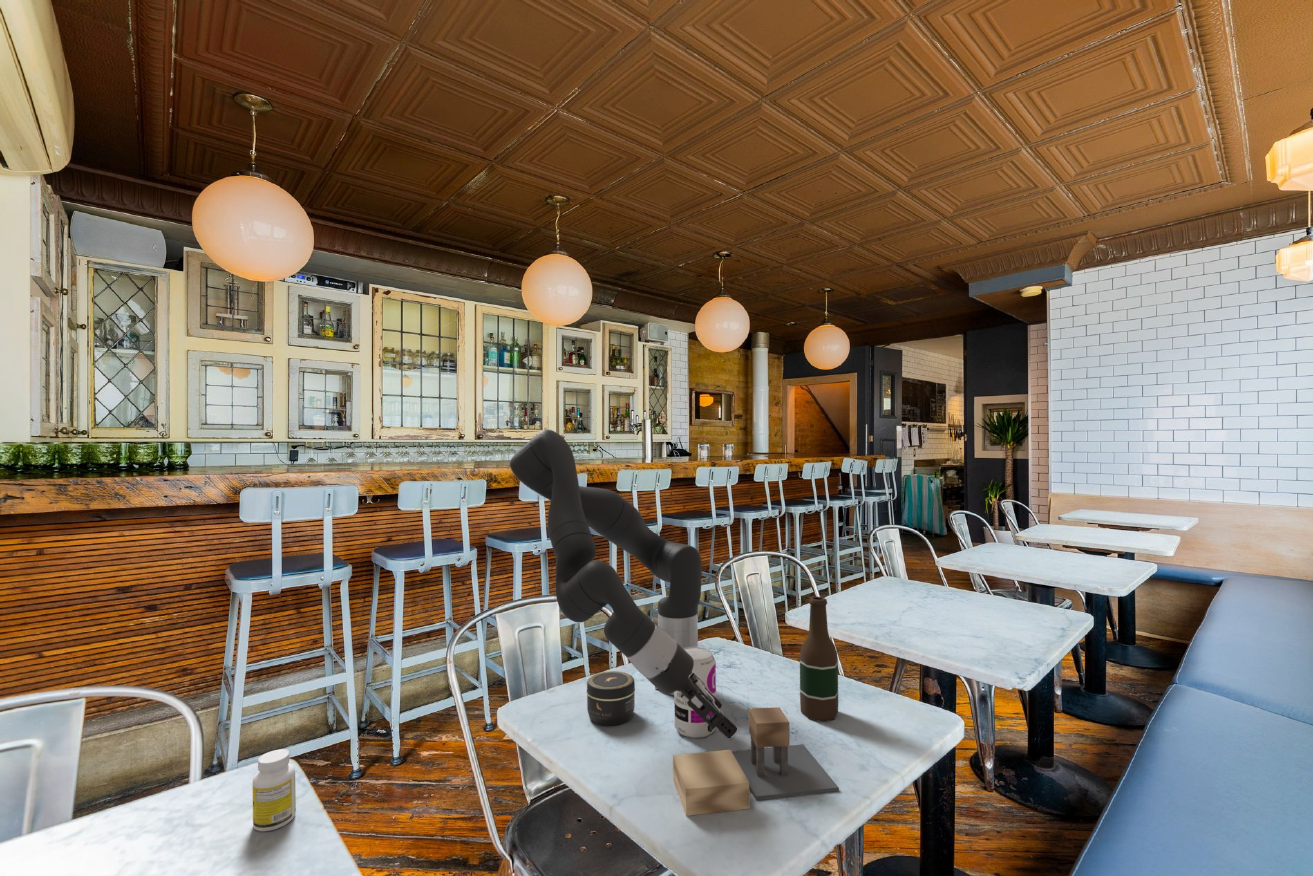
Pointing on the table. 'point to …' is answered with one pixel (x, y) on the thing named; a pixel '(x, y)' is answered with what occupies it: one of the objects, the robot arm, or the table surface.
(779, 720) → the stool
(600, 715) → the jar
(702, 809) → the step
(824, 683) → the beer bottle
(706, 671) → the supplement can
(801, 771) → the mat
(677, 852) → the table surface
